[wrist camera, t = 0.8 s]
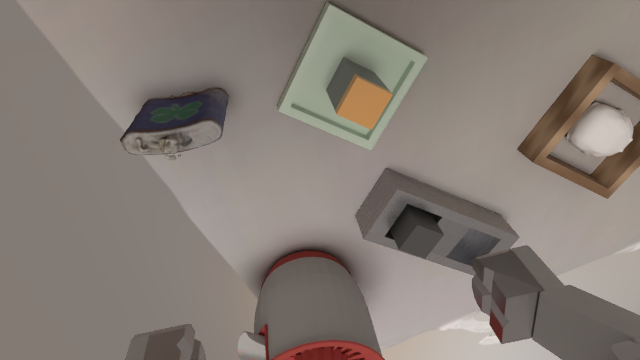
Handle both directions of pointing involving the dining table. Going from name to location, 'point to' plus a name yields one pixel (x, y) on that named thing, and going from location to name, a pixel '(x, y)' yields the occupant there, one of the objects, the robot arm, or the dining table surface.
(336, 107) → the plug
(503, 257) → the robot arm
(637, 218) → the dining table surface
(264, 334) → the citrus juicer
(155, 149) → the blue box
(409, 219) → the twin plug
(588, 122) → the garlic
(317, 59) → the tray
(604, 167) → the garlic corral
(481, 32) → the dining table surface
